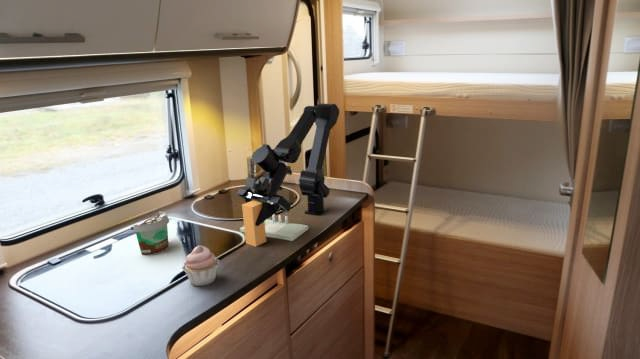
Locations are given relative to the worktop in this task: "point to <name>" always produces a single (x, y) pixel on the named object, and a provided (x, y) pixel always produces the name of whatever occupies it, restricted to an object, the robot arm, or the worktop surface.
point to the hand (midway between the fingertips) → (250, 223)
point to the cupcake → (201, 266)
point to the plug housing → (253, 223)
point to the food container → (153, 234)
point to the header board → (282, 229)
